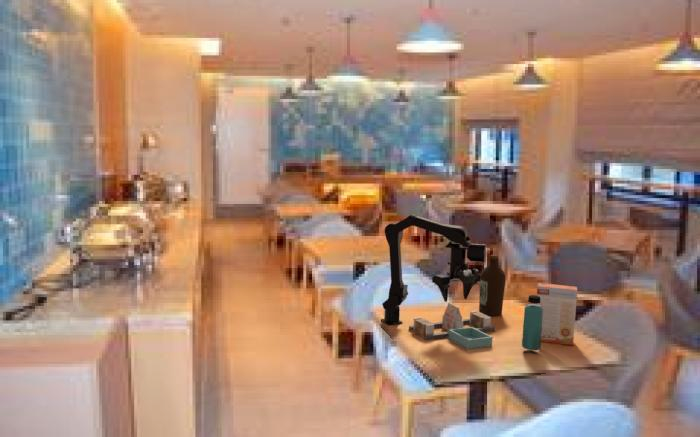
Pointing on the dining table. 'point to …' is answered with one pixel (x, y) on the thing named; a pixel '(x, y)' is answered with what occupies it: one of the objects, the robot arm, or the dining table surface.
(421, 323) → the walnut block
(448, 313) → the tea bag
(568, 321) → the cracker box
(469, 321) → the clip holder
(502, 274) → the olive oil
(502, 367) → the dining table surface
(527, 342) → the beverage bottle
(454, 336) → the teal tray
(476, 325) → the walnut block
